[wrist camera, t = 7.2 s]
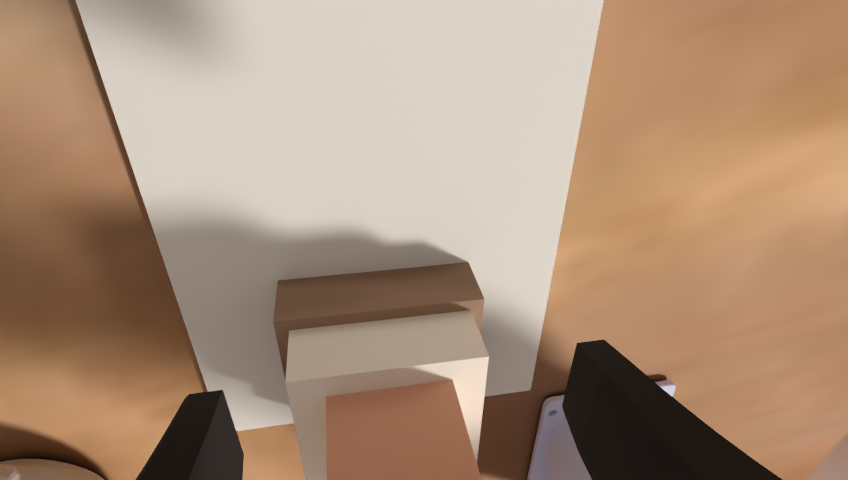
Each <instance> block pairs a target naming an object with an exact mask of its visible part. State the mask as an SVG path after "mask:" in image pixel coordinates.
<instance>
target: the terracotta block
mask: <svg viewBox="0 0 848 480" xmlns="http://www.w3.org/2000/svg"><path fill="white" fill-rule="evenodd" d="M326 458H327V480H481V477H480V473H479V470H478V466H477V463H476V459H475V456H474V452H473V449H472V445H471V442H470V438H469V435H468V431H467V428H466V424H465V421H464V417H463V414H462V410H461V407H460V403H459V400H458V396H457V393H456V390H455V386H454V383H453V380H445V381H438V382H430V383H423V384H415V385H408V386H401V387H393V388H386V389H378V390H371V391H363V392H356V393H349V394H341V395H334V396H326Z"/></svg>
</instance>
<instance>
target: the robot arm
mask: <svg viewBox="0 0 848 480" xmlns="http://www.w3.org/2000/svg"><path fill="white" fill-rule="evenodd" d="M675 388H676V387H675V385H674V384H673V382H672V381H670V380H665V381H658V382H654V381H653V380H651V379H650V378H649V377H648V376H647V375H645V374H644V373H643V372H642V371H641V370H639V369H638V368H637V367H636V366H635V365H634V364H632V363H631V362H630V361H629V360H628V359H627V358H625V357H624V356H623V355H622V354H621V353H619V352H618V351H617V350H616V349H615V348H613V347H612V346H611V345H610V344H609V343H607V342H606V341H605V340H598V341H590V342H582V343H577V346H576V350H575V354H574V358H573V362H572V366H571V371H570V375H569V379H568V383H567V387H566V391H565V395H560V396H553V397H549V398H547V399H546V400H545V401H544V403H543V407H542V412H541V416H540V421H539V426H538V431H537V435H536V440H535V445H534V449H533V454H532V459H531V464H530V468H529V473H528V478H527V480H782V479H781V478H779V477H778V476H776V475H775V474H773V473H772V472H770V471H769V470H768V469H766V468H765V467H763V466H762V465H760V464H759V463H758V462H756V461H755V460H753V459H752V458H751V457H749V456H748V455H747V454H745V453H744V452H743V451H741V450H740V449H738V448H737V447H736V446H734V445H733V444H732V443H730V442H729V441H728V440H726V439H725V438H724V437H722V436H721V435H720V434H718V433H717V432H716V431H714V430H713V429H712V428H711V427H709V426H708V425H707V424H705V423H704V422H703V421H702V420H700V419H699V418H698V417H696V416H695V415H694V414H693V413H691V412H690V411H689V410H688V409H686V408H685V407H684V406H683V405H682V404H680V403H679V402H678V401H677V400H675V399H674V398H673V397H672V396H673V394H674V391H675ZM243 457H244V454H243V451H242V448H241V445H240V442H239V439H238V435H237V432H236V429H235V426H234V423H233V420H232V417H231V414H230V411H229V408H228V404H227V401H226V398H225V395H224V392H223V390H218V391H210V392H203V393H195V394H189V395H188V396H187V397H186V398H185V399H184V401H183V403H182V404H181V406H180V408H179V410H178V411H177V413H176V415H175V416H174V418H173V420H172V422H171V423H170V425H169V427H168V428H167V430H166V432H165V433H164V435H163V437H162V438H161V440H160V442H159V443H158V445H157V447H156V448H155V450H154V452H153V453H152V455H151V456H150V458H149V460H148V461H147V463H146V465H145V466H144V468H143V469H142V471H141V472H140V474H139V475H138V477H137V479H136V480H242V474H243Z"/></svg>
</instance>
